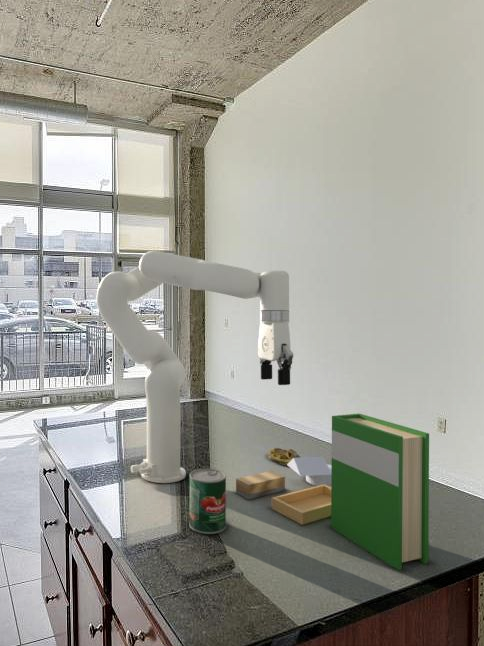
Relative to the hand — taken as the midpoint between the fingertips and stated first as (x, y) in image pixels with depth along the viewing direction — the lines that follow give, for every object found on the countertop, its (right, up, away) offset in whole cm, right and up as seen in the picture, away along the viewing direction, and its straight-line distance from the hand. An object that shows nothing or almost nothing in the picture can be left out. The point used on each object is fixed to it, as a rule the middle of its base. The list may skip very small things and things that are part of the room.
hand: (274, 381), depth 128 cm
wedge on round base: (+12, -28, +3) cm, 30 cm away
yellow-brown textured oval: (+8, -28, +21) cm, 36 cm away
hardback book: (+13, -28, -31) cm, 44 cm away
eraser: (-5, -27, -4) cm, 28 cm away
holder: (+6, -28, -15) cm, 32 cm away
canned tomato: (-20, -28, -24) cm, 42 cm away
